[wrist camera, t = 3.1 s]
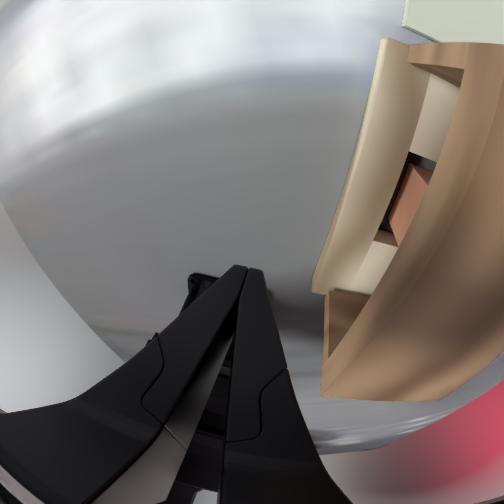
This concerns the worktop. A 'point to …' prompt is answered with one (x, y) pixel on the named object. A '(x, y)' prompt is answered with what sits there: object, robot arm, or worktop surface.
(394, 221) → the block
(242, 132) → the worktop surface
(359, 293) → the board
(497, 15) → the tile
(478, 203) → the brown wooden u-shape
